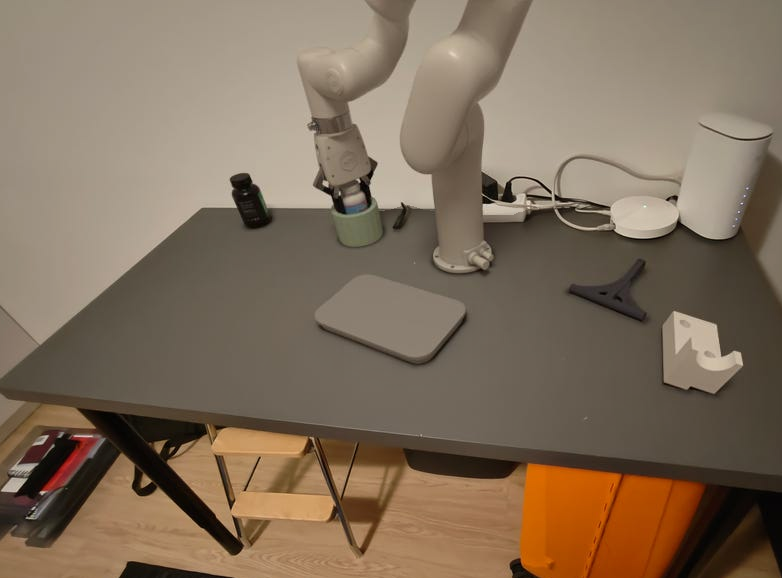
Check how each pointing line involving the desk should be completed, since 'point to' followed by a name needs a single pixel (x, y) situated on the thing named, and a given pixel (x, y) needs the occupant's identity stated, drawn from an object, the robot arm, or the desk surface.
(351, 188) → the pill bottle
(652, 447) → the desk surface
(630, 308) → the bracket
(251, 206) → the supplement bottle
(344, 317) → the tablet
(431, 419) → the desk surface
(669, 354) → the bracket
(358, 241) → the green cylindrical sleeve
